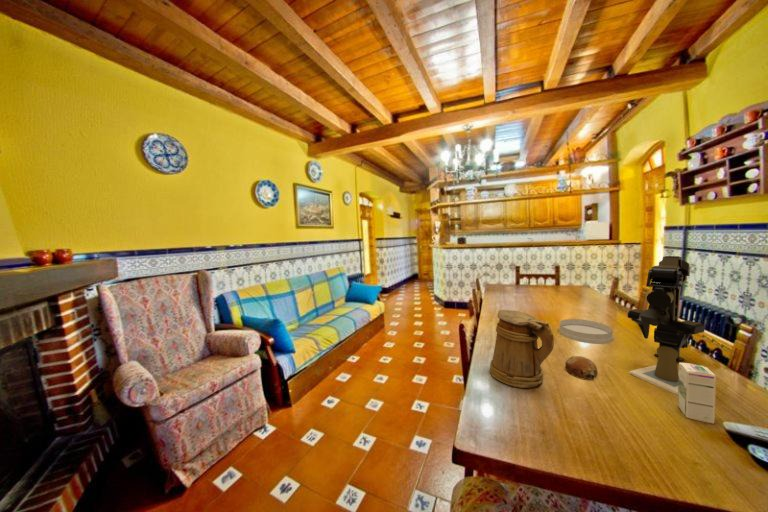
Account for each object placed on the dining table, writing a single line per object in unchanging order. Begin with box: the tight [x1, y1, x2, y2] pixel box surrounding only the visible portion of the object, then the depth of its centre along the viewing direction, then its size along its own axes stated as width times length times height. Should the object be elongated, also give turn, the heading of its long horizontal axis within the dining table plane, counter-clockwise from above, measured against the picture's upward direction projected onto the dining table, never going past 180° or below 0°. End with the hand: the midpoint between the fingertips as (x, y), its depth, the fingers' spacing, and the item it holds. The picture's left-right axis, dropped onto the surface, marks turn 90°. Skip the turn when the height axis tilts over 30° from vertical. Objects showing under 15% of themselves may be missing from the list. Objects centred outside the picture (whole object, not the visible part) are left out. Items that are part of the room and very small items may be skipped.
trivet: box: [628, 364, 679, 396], centre depth 93 cm, size 14×14×1 cm
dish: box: [558, 318, 614, 345], centre depth 134 cm, size 22×22×5 cm
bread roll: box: [564, 355, 599, 380], centre depth 101 cm, size 10×10×8 cm
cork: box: [654, 346, 679, 382], centre depth 92 cm, size 6×6×11 cm
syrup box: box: [677, 361, 717, 425], centre depth 75 cm, size 6×6×14 cm
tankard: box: [489, 309, 555, 389], centre depth 98 cm, size 18×24×25 cm
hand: (661, 343), depth 94 cm, fingers open, 9 cm apart
